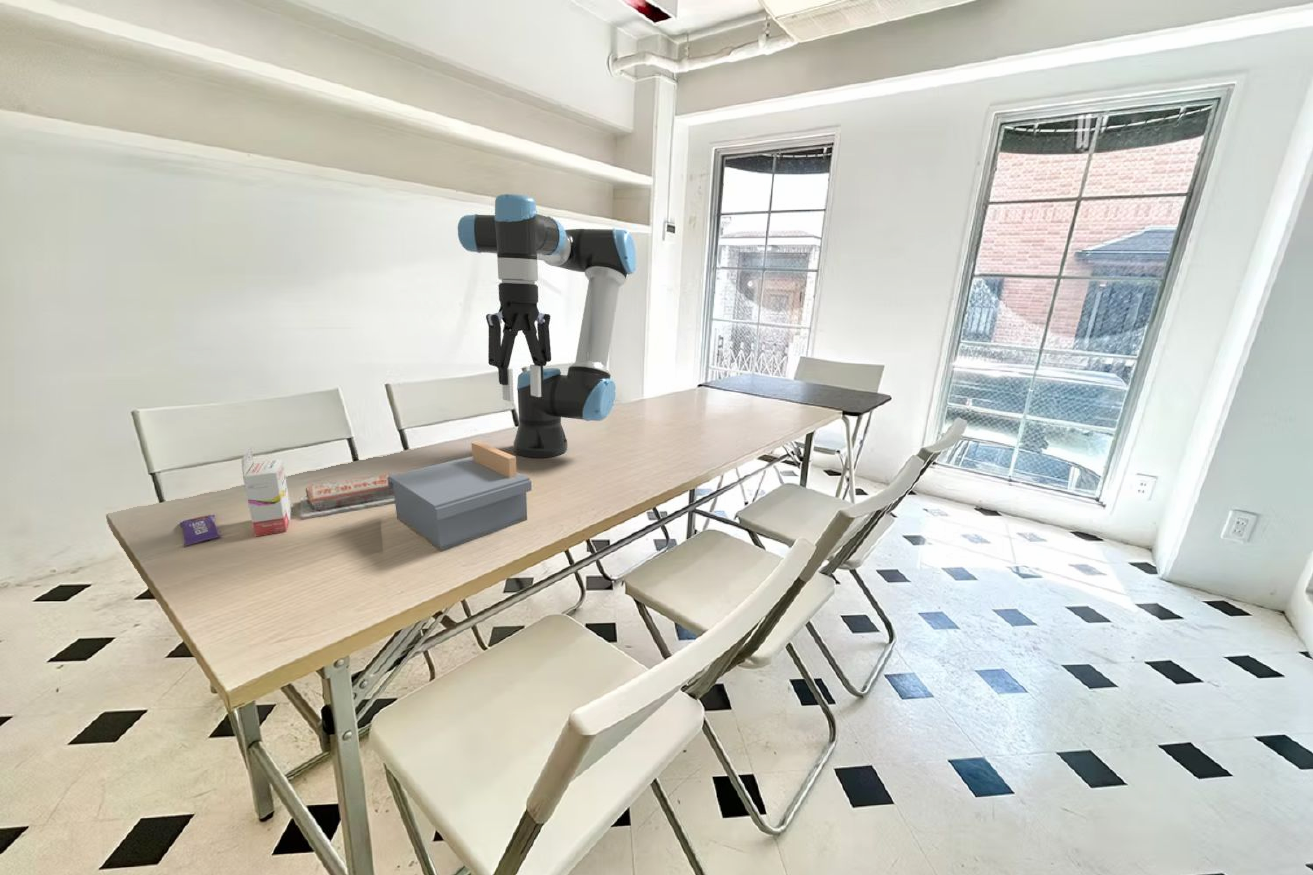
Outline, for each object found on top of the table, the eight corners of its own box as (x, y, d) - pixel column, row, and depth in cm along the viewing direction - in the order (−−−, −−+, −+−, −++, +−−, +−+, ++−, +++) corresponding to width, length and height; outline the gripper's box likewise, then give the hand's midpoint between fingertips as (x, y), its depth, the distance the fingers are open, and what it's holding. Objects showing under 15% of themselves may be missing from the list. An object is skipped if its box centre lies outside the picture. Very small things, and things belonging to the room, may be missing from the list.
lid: (477, 464, 111) (475, 436, 109) (531, 490, 99) (530, 459, 97) (388, 487, 97) (384, 455, 96) (437, 520, 85) (434, 484, 83)
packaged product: (394, 468, 113) (400, 483, 105) (396, 488, 115) (403, 504, 107) (297, 482, 103) (296, 500, 96) (300, 503, 105) (300, 522, 97)
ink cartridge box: (288, 531, 92) (274, 456, 88) (254, 537, 90) (238, 460, 86) (293, 513, 100) (280, 443, 95) (262, 518, 97) (247, 446, 93)
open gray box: (480, 494, 112) (477, 460, 110) (527, 520, 101) (525, 483, 99) (397, 518, 99) (392, 481, 97) (440, 551, 88) (436, 510, 86)
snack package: (220, 531, 89) (181, 541, 85) (222, 541, 89) (184, 551, 86) (213, 509, 96) (178, 517, 93) (215, 519, 97) (180, 527, 94)
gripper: (546, 283, 107) (548, 389, 114) (462, 280, 93) (470, 401, 100) (568, 284, 102) (569, 395, 109) (484, 281, 88) (491, 407, 95)
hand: (522, 397), depth 104 cm, fingers open, 6 cm apart
